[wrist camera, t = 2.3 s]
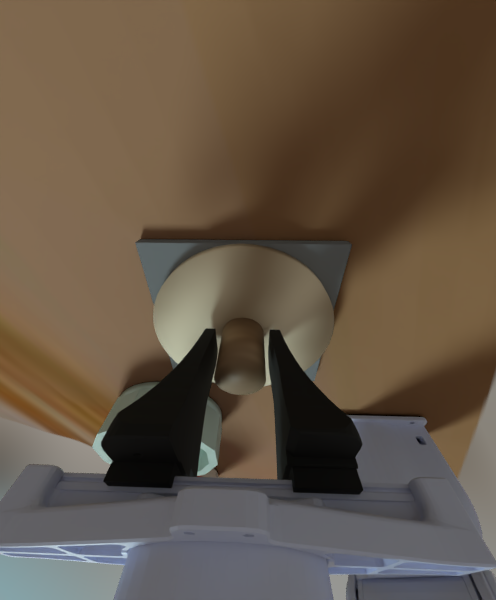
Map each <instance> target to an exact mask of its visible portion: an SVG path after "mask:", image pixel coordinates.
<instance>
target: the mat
mask: <svg viewBox="0 0 496 600" xmlns="http://www.w3.org/2000/svg"><path fill="white" fill-rule="evenodd" d="M228 244H255V245H261V246H266V247H271V248H273V249H276V250H279V251H282V252H284V253H286V254H288V255H290V256H292V257H294V258H296V259H297V260H299V261H300V262H302V263H303V264H305V265H306V266H307V267H308V268H309V269H310V270H311V271H312V272H313V273H314V274H315V275H316V276H317V278H318V279H319V280H320V281H321V283H322V285H323V287H324V289H325V290H326V292H327V294H328V296H329V298H330V301H331V304H332V307H333V311H334V307H335V304H336V300H337V296H338V293H339V289H340V286H341V282H342V278H343V275H344V271H345V267H346V264H347V260H348V257H349V253H350V249H351V246H352V244H351V243H350V242H348V241H290V240H169V239H140V240H138V241H137V242H136V246H137V250H138V253H139V256H140V260H141V263H142V267H143V270H144V273H145V277H146V280H147V283H148V287H149V290H150V293H151V297H152V300H153V303H154V304H155V300H156V297H157V294H158V292H159V291H160V289H161V287H162V285H163V284H164V282H165V281H166V280H167V278H168V277H169V276H170V274H171V273H172V272H173V271H174V270H175V269H176V268H177V267H178V266H179V265H180V264H181V263H182V262H184V261H185V260H187V259H188V258H190V257H191V256H193V255H195V254H197V253H199V252H201V251H204V250H207V249H210V248H213V247H217V246H222V245H228ZM169 357H170V356H169ZM320 358H321V357H320ZM320 358H319V359H318V360H317V361H316V362H315V363H314V364H313V365H312V366H310V367H309V368H308V369H307V370H305V371H304V372H305V373H306V374H307V376H308V377H309V378H310V379H311V381H314V380H315V376H316V372H317V369H318V365H319V362H320ZM170 360H171V364H172V367H173V369H174V368H175V367H176V366H177V365H178V363H176V362H175V361H174V360H173V359H172V358H171V357H170Z"/></svg>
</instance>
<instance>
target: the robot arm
mask: <svg viewBox="0 0 496 600" xmlns="http://www.w3.org/2000/svg"><path fill="white" fill-rule="evenodd" d="M217 354H218V347H217V338H216V329H212V328H206V329H205V330H204V331H203V333H202V335H201V336H200V337H199V339H198V340H197V342H196V343H195V344H194V346H193V347H192V348H191V350H190V351H189V352H188V353H187V355H186V356H185V357H184V358H183V359H182V360H181V362H180V363H179V364H178V365H177V366H176V367H175V368H174V369H173V370H172V371H171V372H170V373H169V374H168V375H167V376H166V377H165V378H164V379H163V380H161V381H160V382H159V383H158V384H157V385H156V386H155V387H153V388H152V389H151V390H149V391H148V392H147V393H146V394H144V395H143V396H142V397H140V398H139V399H138V400H136V401H135V402H133V403H132V404H130V405H129V406H127V407H126V408H124V409H123V410H121V411H120V412H118V413H117V415H116V417H115V418H114V419H113V421H112V423H111V424H110V426H109V428H108V430H107V432H106V434H105V435H104V437H103V439H102V441H101V447H102V448H103V450H104V451H105V453H106V454H107V455H108V456H109V457H110V458H111V460H112V463H111V465H110V467H109V469H108V472H107V474H94V473H64V472H63V470H62V469H61V468H59V467H57V466H53V465H39V464H29V465H27V466H26V467H25V469H24V470H23V471H22V473H21V474H20V475H19V477H18V478H17V479H16V481H15V482H14V484H13V485H12V486H11V487H10V489H9V490H8V492H7V493H6V494H5V496H4V497H3V498H2V500H1V501H0V554H2V555H6V556H9V557H26V558H43V559H57V560H70V561H81V562H93V563H105V564H117V565H124V568H123V572H122V575H121V578H120V581H119V584H118V587H117V590H116V594H115V597H114V600H333V594H332V589H331V583H330V577H329V574H349V575H348V582H347V587H346V600H496V577H495V576H494V574H493V573H492V572H491V571H490V570H489V569H494V568H496V560H495V559H494V557H493V555H492V554H491V552H490V551H489V549H488V547H487V545H486V544H485V542H484V540H483V539H482V530H481V526H480V522H479V520H478V516H477V514H476V511H475V509H474V507H473V505H472V503H471V501H470V499H469V497H468V495H467V494H466V492H465V490H464V489H463V487H462V486H461V484H460V483H459V481H458V479H457V478H456V476H455V474H454V473H453V471H452V470H451V468H450V467H449V465H448V463H447V462H446V460H445V459H444V457H443V455H442V454H441V452H440V451H439V449H438V448H437V446H436V444H435V443H434V441H433V440H432V438H431V436H430V435H429V433H428V432H427V430H426V429H425V427H424V426H425V425H426V423H427V421H426V419H425V418H424V417H402V416H364V415H346V414H345V413H344V412H343V411H341V410H340V409H339V408H338V407H337V406H336V405H335V404H334V403H333V402H331V401H330V400H329V399H328V398H327V397H326V396H325V395H324V394H323V393H322V392H321V390H320V389H319V388H318V387H317V386H316V385H315V384H314V383H313V382H312V381H311V379H310V378H309V377H308V376H307V374H306V373H305V372H304V371H303V369H302V368H301V367H300V365H299V364H298V362H297V361H296V359H295V358H294V356H293V354H292V353H291V351H290V349H289V348H288V346H287V344H286V342H285V340H284V338H283V336H282V333H281V331H280V330H270V331H269V345H268V365H269V373H270V380H271V386H272V393H273V400H274V413H275V432H276V454H277V480H274V479H244V478H214V477H197V472H198V463H199V455H200V447H201V439H202V432H203V425H204V418H205V411H206V405H207V400H208V396H209V392H210V388H211V384H212V380H213V376H214V372H215V368H216V362H217Z"/></svg>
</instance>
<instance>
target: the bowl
mask: <svg viewBox="0 0 496 600" xmlns="http://www.w3.org/2000/svg"><path fill="white" fill-rule="evenodd" d="M158 383H159V382H147V383H141V384H137V385H134V386H132V387H130V388H128V389H126V390H125V391H124V392H123V393H122V394H121V395H120V397H119V398H118V399H117V400H116V402H115V404H114V406H113V407H112V409H111V411H110V413H109V414H108V416H107V418H106V420H105V421H104V423H103V425H102V427H101V428H100V430H99V432H98V434H97V436H96V439H95V441H94V444H93V447H92V448H93V449H94V450H95V451H96V452H97V453H98V454H99V456H100V457H101V458H102V459H103V460H104V461H105V462H107V463H110V464H111V463H112V460H111V458H110V457H109V456H108V455H107V454H106V453H105V451H104V450H103V448H102V447H101V441H102V439H103V437H104V435H105V434H106V432H107V430H108V428H109V426H110V424H111V423H112V421H113V419H114V418H115V417H116V415H117V413H118V412H120V411H121V410H123V409H124V408H126V407H127V406H129V405H130V404H132V403H133V402H135V401H136V400H138V399H139V398H140V397H142V396H143V395H144V394H146V393H147V392H148V391H149V390H151V389H152V388H153V387H155V386H156V385H157V384H158ZM221 423H222V413H221V410H220V408H219V406H218V405H217V404H216V403H215V402H214V401H213V400H212V399H211V398H210V397H209V396H208V400H207V405H206V411H205V418H204V425H203V432H202V439H201V447H200V455H199V463H198V472H197V476H200V475H205V474H207V473H208V472H209V471H210V470H212V469H213V468H214V467H216V466H217V465H218V458H219V450H220V442H221V433H222V426H221Z"/></svg>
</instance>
